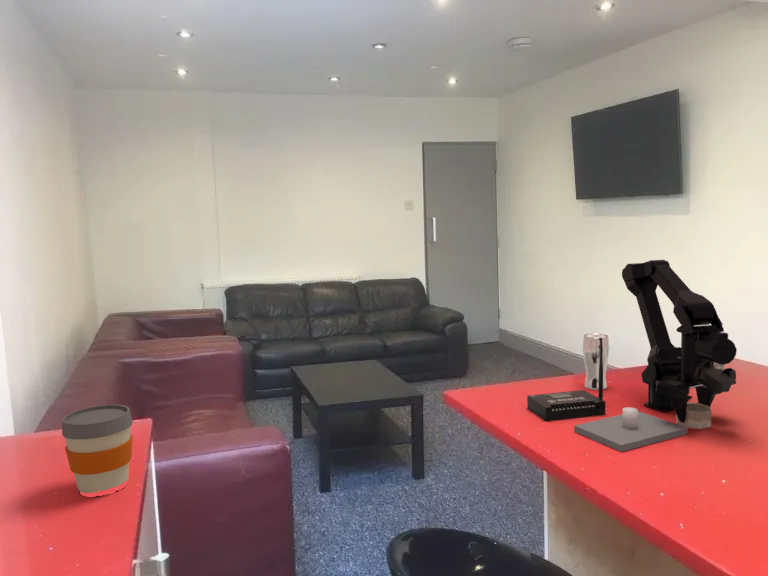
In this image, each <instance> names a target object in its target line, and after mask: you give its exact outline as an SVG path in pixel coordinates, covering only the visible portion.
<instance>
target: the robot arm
mask: <svg viewBox="0 0 768 576" xmlns="http://www.w3.org/2000/svg"><path fill="white" fill-rule="evenodd" d="M621 277H622V280H623V281H624V284H625V287H626V289H627V290H628V292H630V293H631V294H632V295H633V296H634V297H635V298H636V302H637V304H638V305H637V306H638V308H639V312H640V315H641V320H642V322H643V326H644V328H645V332H646V333H645V334H646V336H647V340H648V342H649V346H650V350H649V353H648V356H647V360H646V361H647V366H646V367H645V368H644V370H643V371H642V372H641V380H642V383H643V384H646V385H648V389H647V390H648V392H647V402H644V403H643V406H645V407H648V408H651V409H654V410H658V411H660V412H669V411H673V410H674V412H675V416H676V415H677V417H678V419H679V421H680V422H685V418H686V409H687V402H690V400H692V398H693V396H692V395H689V393H690V389H695V393H696V398H697V403H700V404H703V405H707V406H709V407H710V408H711V405H712V404H713V401H714V399H715V397H716V396H717V395H720V394H722V393H729V391H730V389H731V387H732V385H736V384H737V372H736V370H735V369H734V368H732V367H727V368H724V370H723V371H722V369H716V368H714V362H715V363H718V364H722V365H724V366H725V365H727V364H730V363H731V362H732V361H733V360H734V359H735V358H736V355H737V347H736V344H735V343H734V341H732V340H731V339H729V333H728V332H725V329H724V326H723V324H724V323H723V322H722V321H721V319H720V317H719V315H718V312H717V310H716V308H715V305H714V304H713V302H711V300H709V299H708V298H706V297H705V296H704V295H702V294H699V293H697V292H694V291H693V290H691V289H690V288H689V286H687V284H686V283H685V282H684V280H682V279H681V277H680V276H679V275H678V274H677V273H676V272H675V271H674V270H673V268H672V267H671V265H670V262H669V261H668V260H665V259H652V260H650V259H649V260H648V261H645V262H637V263H627V264H626V265H625V267H624V268H623V269H622V270H621ZM658 287H659V288H660V289H661V291H662V292H663V293H664V295H666V297H667V298H668V300H669V301H670V302H671V303H672V305H673V311H672V312H673V314H674V316H675V319H677V321H678V323H679V324H680V325H679V326H678V327H677V328H676V332H678V333H680V334H681V336H680V337H681V338H680V340H681V343H680V346H678V347H677V346H675V345H674V344H673V343H672V341H671V338H670V335H669V332H668V328H667V324H666V322H665V317H664V315H663V312H662V308H661V304H660V302H659V299H658V295H657V291H656V290H657V288H658Z"/></svg>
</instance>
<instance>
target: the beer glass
mask: <svg viewBox="0 0 768 576" xmlns="http://www.w3.org/2000/svg"><path fill="white" fill-rule="evenodd" d="M600 342H602V361H603V390H606V389H607V388H608V384H607V380H606V379H607V376H606V374H607V373H606V372H607V366H608V361H609V356H610V354H609V353H610V352H609V350H610V348H609V347H610V346H609V336H608V335H607V334H604V333H586V334H584V335H583V343H582V355H583V362H584V367H585V381H584V387H585V388H586V389H589V390H593V391H599V363H600Z"/></svg>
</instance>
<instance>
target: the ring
mask: <svg viewBox="0 0 768 576" xmlns="http://www.w3.org/2000/svg"><path fill="white" fill-rule="evenodd" d="M675 423H676V424H678V425H681V426H684V427H686V428H687V429H698V430H703V429H707V428H711V426H712V409H711V406H710V407H709V406H707V405H703V404H700V403H698V402H690V401H688V402H687V409H686V418H685V422H680V421H679V419H678V417H677V415H676V414H675Z"/></svg>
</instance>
